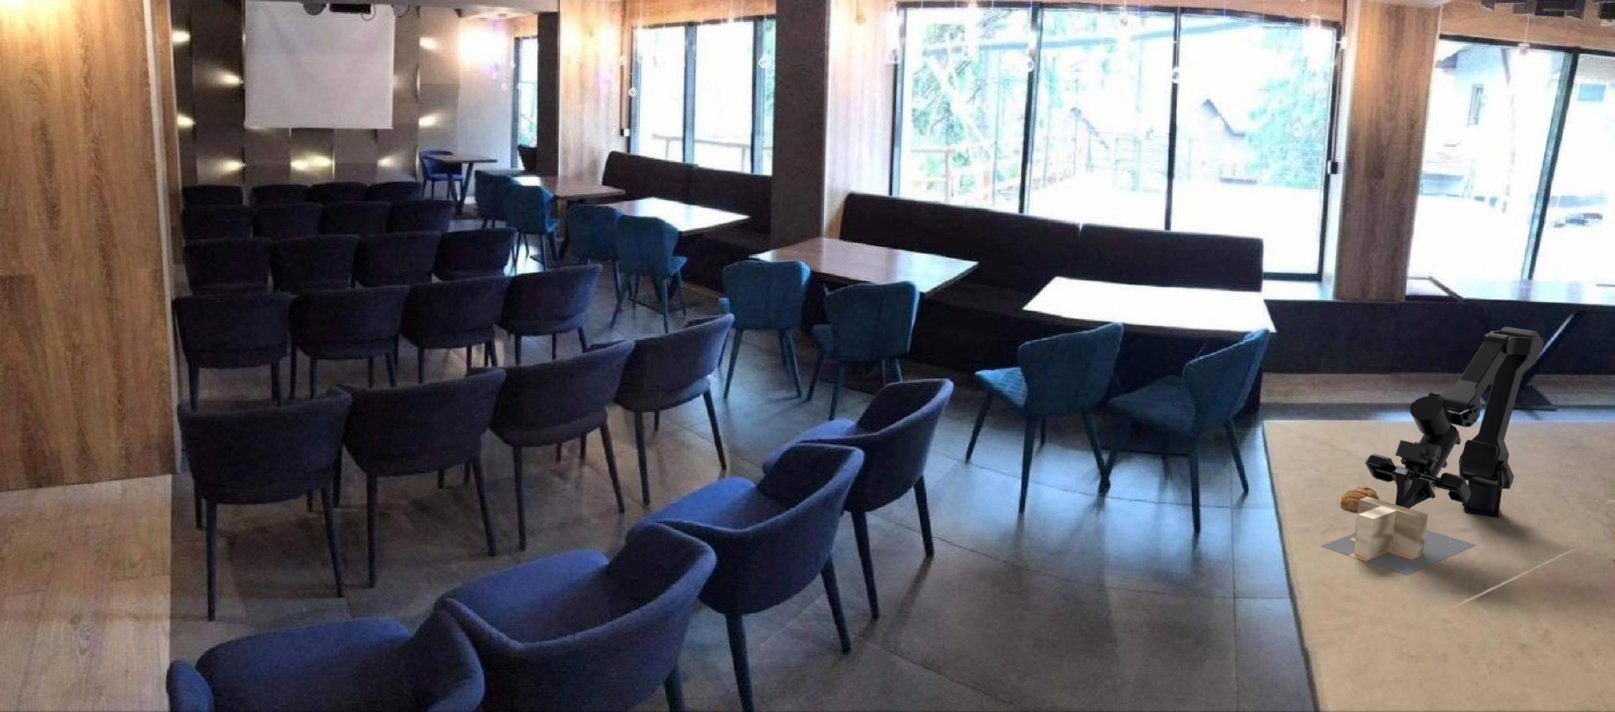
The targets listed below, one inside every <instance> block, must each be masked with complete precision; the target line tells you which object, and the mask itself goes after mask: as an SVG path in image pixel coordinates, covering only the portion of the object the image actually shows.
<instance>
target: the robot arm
mask: <svg viewBox="0 0 1615 712" xmlns="http://www.w3.org/2000/svg"><path fill="white" fill-rule="evenodd" d="M1543 346H1544V339H1543V337H1541V336H1540V334H1539V332H1538V331H1535V330H1528V329H1521V328H1515V327H1509V326H1503V327H1502V328H1501V329H1500V330H1491V331H1489V333H1488V332H1487V333H1485V334H1484V336H1483V337H1482V340H1481V346H1480V347H1479V349H1478V351H1477V352H1476V353H1475V355H1474V357H1472V359H1471V361H1470V363H1469V364H1468V366H1467V367H1466V369H1465V370H1464V372H1463V374H1462V376H1460V379H1458V381H1457V382H1456V383H1455V384H1451V385H1450V386H1447V387H1445V388H1444V390H1443V391H1441V394H1440V393H1436V392H1429V393H1428V395H1427V396H1422V397H1419V398H1418V399H1415V401H1413V402H1412V403H1411V404H1410V406H1409V411H1410V415H1411V417H1412V419H1413V421H1414V423H1415V425H1416V427H1417V428H1418V430H1419V432H1420V433H1421V434H1423V435H1422V437H1421V439H1420V440H1419V442H1417V441H1414V442H1411V441H1408V440H1404V439H1401V440H1400V441H1399V443H1398V447H1397V448H1396V451H1395V456H1396V457H1399V458H1401V459H1400V463H1401V464H1402V465H1404V466H1402V465H1398V464H1397V465H1395V463H1394V461H1393V460H1392V458H1391V457H1388V456H1384V455H1380V454H1376V453H1373V454H1370V455H1369V456H1368V458H1367V459H1366V460H1365V463H1364V464H1365V465H1366V468H1367V469H1368V471H1369V473H1370V475H1371V476H1372V477H1373V478H1374V479H1375V480H1378V481H1381V482H1382V481H1383V482H1386V483H1391V482H1393V481H1394V482H1395V485H1396V497H1395V505H1398V506H1401V507H1405V508H1408V509H1411V508H1413V507H1415V506H1416V505H1418V504H1420V503H1422V502H1424V501H1426V500H1429V499H1435V498H1436V492H1437V490H1440V489H1442V490H1446V491H1448V493H1447V495H1448V496H1449V499H1450V500H1451V501H1455V502H1457V503H1461V506H1462V507H1463V512H1465V511H1467V512H1466V513H1471V512H1472V514H1477V513H1478V515H1485V516H1490V515H1491V517H1500V515H1501V514H1500V513H1501V512H1500V510H1501V508H1500V507H1501V500H1502V494H1503V493H1502V492H1503V490H1511V486H1512V485H1513V483H1514V478H1515V476H1514V473H1513V471H1512V468H1511V466H1510V465H1509V456H1510V453H1509V450H1508V448H1507V444H1506V442H1505V438H1506V434H1507V431H1508V427H1509V425H1510V424H1509V423H1510V420H1511V417H1512V412H1513V410H1514V406H1515V402H1516V399H1517V396H1518V393H1519V389H1520V385H1521V381H1522V379H1523V374H1524V373H1525V372H1527V371H1528V370H1529V369H1530V368H1531V367H1533V366H1534V365H1535V364H1536V362H1537V360H1538V357H1539V354H1540V353H1541V352H1542V350H1543V348H1544V347H1543ZM1492 380H1493V381H1492ZM1491 382H1492V384H1491V388H1490V392H1489V393H1488V394H1489V396H1488V398H1487V402H1486V405H1485V409H1484V412H1483V416H1482V420H1481V424H1480V427H1479V431H1478V433H1477V434H1476V435H1475V436H1474V437H1473V438H1472V439H1467V440H1466V441H1465V442H1464V446H1463V450H1462V453H1461V454H1460V456H1459V460H1458V467H1459V468H1458V470H1459V475H1457V474H1455V473H1449V472H1443V473H1442V474H1441V475H1440V476H1439V477H1438V475H1439V474H1440V473H1441V470H1442V469H1446V468H1447V466H1448V461H1447V459H1448V458H1449V456H1450V454H1451V452H1452V451H1453V449H1454V446H1455V445H1456V446H1460V445H1461V436H1460V432H1459V430H1458V429H1457V427H1456V426H1458V427H1463V428H1471V427H1472V426H1473V425H1474V424H1475V423H1477V422H1478V419H1479V418H1480V416H1481V411H1482V402H1481V397H1482V396H1483V394H1484V393H1485V391H1486V390H1487V387H1488V386H1489V384H1490V383H1491ZM1467 481H1468V483H1467Z"/></svg>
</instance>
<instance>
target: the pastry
mask: <svg viewBox="0 0 1615 712" xmlns="http://www.w3.org/2000/svg"><path fill="white" fill-rule="evenodd" d="M1365 497H1371V498H1374V499H1378V500H1381V499H1380V496H1379V495H1378V493H1377V491H1376V490H1375V489H1373V488H1371V487H1369V486H1356V488H1353V489H1349V490H1348V491H1346V493H1344V494H1343V495H1342V497H1341V499H1340V507H1341V509H1343V510H1344V509H1345V510H1348V511H1354V512H1358V507H1359V499H1362V498H1365Z"/></svg>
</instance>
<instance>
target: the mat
mask: <svg viewBox="0 0 1615 712" xmlns="http://www.w3.org/2000/svg"><path fill="white" fill-rule="evenodd" d="M1355 533H1356V532H1353V533H1352V534H1349V535H1346V536H1344V537H1343V536H1342V537H1341V538H1337V539H1335V540H1333V541H1330V542H1327V543H1324V544H1322V545H1320V547H1321V548H1325V549H1328V550H1331V551H1333V552H1337V553H1340V554H1342V555H1345V556H1348V557H1351V558H1354V559H1356V560H1361V561H1363V562H1366V563H1368V564H1371V565H1375V566H1378V567H1379V568H1383V569H1386V570H1390V571H1393V572H1395V573H1398V574H1401V575H1405V576H1408V575H1409V574H1412V573H1415V572H1417V571H1419V570H1421V569H1424V568H1426V567H1428V566H1431V565H1433V564H1436V563H1437V562H1440V561H1442V560H1445V559H1447V558H1449V557H1452V556H1455V555H1456V554H1459V553H1462V552H1464V551H1466V550H1468V549H1471V548H1473V547H1475V546H1476V544H1474V543H1471V542H1468V541H1465V540H1461V539H1458V538H1455V537H1452V536H1449V535H1448V536H1447V535H1444V534H1441V533H1437V532H1434V531H1431V530H1429V529H1426V535H1425V543H1424V551H1423V554H1421V555H1419V556H1417V557H1412V556H1409V555H1406V554H1403V553H1400V552H1397V551H1394V550H1390V551H1387V552H1385V553H1382V554H1380V555H1377V556H1375V557H1372V558H1370V559H1368V558H1365V557H1362V556H1359V555H1356V554H1354V548H1355V539H1356V538H1355ZM1449 541H1451V542H1449ZM1448 545H1449V546H1448ZM1450 545H1451V546H1450ZM1452 549H1453V550H1452Z"/></svg>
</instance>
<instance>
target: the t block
mask: <svg viewBox="0 0 1615 712" xmlns="http://www.w3.org/2000/svg"><path fill="white" fill-rule="evenodd" d="M1356 517H1357V518H1356V526H1355V532H1354V533H1355V538H1356V539H1355V548H1354V554H1356V555H1359V556H1362V557H1365V558H1368V559H1370V558H1372V557H1375V556H1377V555H1380V554H1382V553H1385V552H1387V551H1390V550H1394V551H1397V552H1400V553H1403V554H1406V555H1409V556H1412V557H1417V556H1419V555H1421V554H1423V551H1424V543H1425V535H1426V530H1427V528H1428V527H1427V525H1428V519H1429V514H1428V513H1424V512H1423V511H1422V512H1421V511H1418V510H1415V509H1411V508H1410V509H1408V508H1405V507H1401V506H1398V505H1395V504H1394V503H1391V502H1387V501H1383V500H1381V499H1380V500H1378V499H1374V498H1371V497H1365V498H1362V499H1359V507H1358V511H1357V515H1356Z"/></svg>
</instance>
